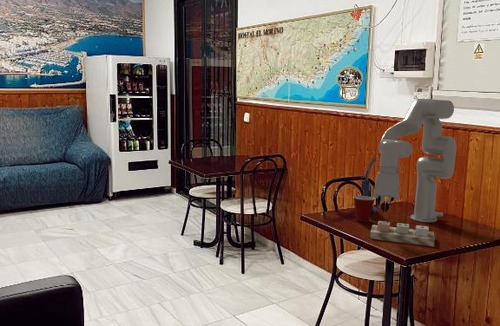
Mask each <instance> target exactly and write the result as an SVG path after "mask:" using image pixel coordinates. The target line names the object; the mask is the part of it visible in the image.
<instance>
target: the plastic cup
mask: <svg viewBox="0 0 500 326" xmlns="http://www.w3.org/2000/svg"><path fill="white" fill-rule="evenodd" d="M352 198H353V203H354V211H355V212H354V213H355V219H356V221H357V222H358V223H359V222H360V223H368V222H369V221H370V217H371V214H372V213H371V210H372V206H374V203H375V201H376V199H377V198H375V197H373V196H371V197H368V196H363V195H354V196H352Z"/></svg>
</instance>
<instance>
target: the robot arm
mask: <svg viewBox="0 0 500 326" xmlns="http://www.w3.org/2000/svg"><path fill="white" fill-rule="evenodd" d="M454 105H455V104H454V103H453V102H452V101H451V100H449V99H448V100H446V99H427V98H426V99H425V98H419V99H416V100H413V102H412V103H411V105H410V107H409V108H408V110H407V112H406V113H405V114H404V115H405V116H404V117H403V120H401V121H400V122H397V123H396V124H394V125H393V126H391V127H389V128H387V130H386V131H385V132H384V133H383V135H382V137H381V139H380V141H379V144H378V152H379V153H380V158H379V159H380V160H379V170H378V171H377V173H376V175H375V176H376V177H375V180H374V181H375V183H374V193H373V195H372V197H374V198H376V199H378V200H379V201H380V202H381V207H380V208H381V210H382V213H388V211H389V210H390V204H391V202H393V201H397V200H400V195H399V193H400V174H399V173H398V172H402V168H400V167H399V158H400V159H405V158H408V157H411V155H412V153H413V144H412V143H411V142H410V141H407V140H400V139H399V138H401V137H405V136H410V135H412V134H416V133H418V132H419V131H420V130H421V128H422V126H423V129H422V138H421V139H422V140H421V151H422V152H423V153H424V154H427V155H436V156H439V157H433V156H421V157H420V158H418V159H417V162H416V165H415V166H416V168H415V169H416V187H415V189H416V190H415V199H414V210H413V213H412V214H411V215H410V217H409V218H410V219H411V220H413V221H417V222H421V223H435V222H438V218H437V217H443V216H444V213H443V212H442V211H441V212H438V211H436V210H435V209H436V200H437V199H436V198H437V189H438V184H437V181H436V179H435V178H437V179H445V180H447V179H451V178H452V176H454V171H455V164H456V163H455V162H456V155H457V154H456V153H457V142H456V139H455V138H454V137H452V136H446V135H442V130H443V125H442V124H443V123H442V122H441V120H446V119H450V118H451V117H452V116H453V115H454V111H455V106H454ZM440 156H442V158H440ZM385 197H387V200H385Z"/></svg>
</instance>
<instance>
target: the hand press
mask: <svg viewBox="0 0 500 326" xmlns="http://www.w3.org/2000/svg"><path fill="white" fill-rule="evenodd" d="M376 161H377V156H373V157H372V158H371V160H370V161H369V163H368V165H367V168H366V171H365V177H364V180H361V186H360V187H361V188H360V190H361V191H362V196H368V197H372V184H371V181H370V180H369V175H370V172H371V169H372V167H373V164H375V162H376ZM377 209H378V208H377V207H376V206H374V205H373V206H372V210H371V214H375V213H377Z"/></svg>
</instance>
